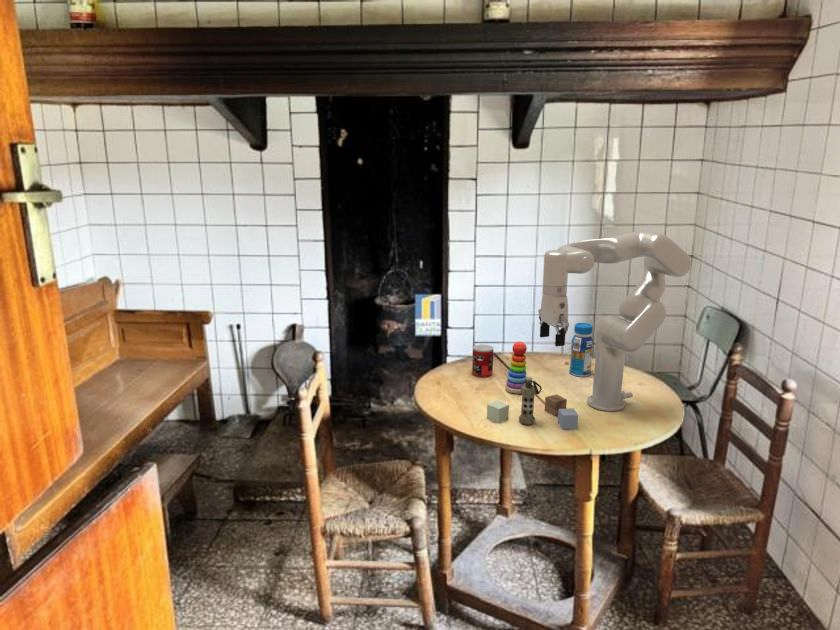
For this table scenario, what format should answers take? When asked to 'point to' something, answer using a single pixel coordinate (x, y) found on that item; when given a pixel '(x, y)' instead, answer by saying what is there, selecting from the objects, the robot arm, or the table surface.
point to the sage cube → (497, 411)
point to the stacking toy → (517, 369)
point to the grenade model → (528, 401)
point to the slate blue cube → (567, 418)
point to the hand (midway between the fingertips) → (552, 341)
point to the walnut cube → (554, 404)
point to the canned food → (482, 360)
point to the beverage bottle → (581, 350)
